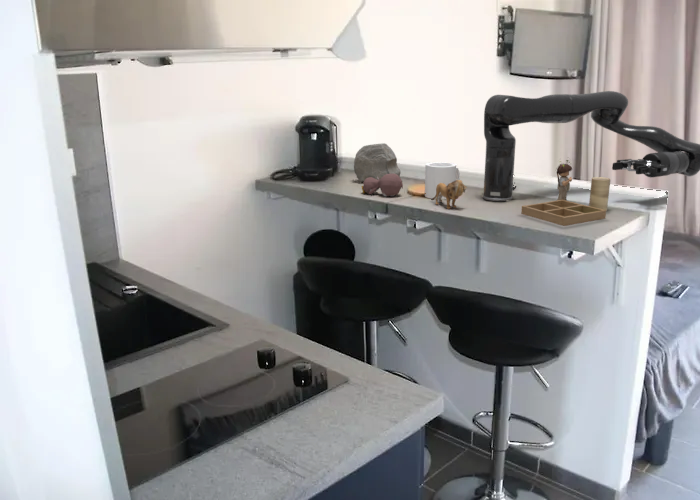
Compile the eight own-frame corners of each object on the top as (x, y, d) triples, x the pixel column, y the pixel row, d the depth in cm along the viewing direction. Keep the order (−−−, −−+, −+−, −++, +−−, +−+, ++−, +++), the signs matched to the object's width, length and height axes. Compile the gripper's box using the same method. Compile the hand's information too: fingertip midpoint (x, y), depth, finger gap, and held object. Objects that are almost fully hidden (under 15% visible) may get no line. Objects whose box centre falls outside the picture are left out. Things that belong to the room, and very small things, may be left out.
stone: (350, 182, 239) (349, 142, 235) (361, 179, 244) (361, 140, 240) (391, 187, 228) (392, 145, 224) (402, 184, 234) (403, 143, 229)
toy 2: (569, 206, 197) (573, 158, 193) (551, 204, 200) (555, 157, 195) (574, 202, 202) (578, 156, 198) (556, 201, 205) (560, 154, 200)
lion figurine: (468, 208, 196) (469, 180, 193) (455, 211, 193) (456, 182, 190) (436, 200, 207) (437, 173, 205) (424, 202, 205) (425, 174, 202)
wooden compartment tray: (521, 215, 187) (521, 205, 186) (561, 209, 194) (562, 199, 193) (563, 228, 173) (564, 217, 172) (605, 220, 180) (606, 210, 179)
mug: (444, 190, 223) (445, 160, 220) (467, 194, 215) (469, 163, 212) (418, 195, 214) (419, 164, 211) (441, 200, 207) (442, 168, 204)
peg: (586, 209, 193) (590, 176, 190) (604, 209, 193) (608, 177, 190) (590, 213, 188) (593, 180, 186) (608, 213, 188) (612, 180, 185)
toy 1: (364, 203, 220) (403, 201, 212) (355, 186, 215) (395, 183, 207) (371, 187, 225) (410, 184, 217) (363, 170, 220) (402, 167, 212)
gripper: (642, 149, 204) (607, 153, 197) (682, 155, 192) (647, 159, 185) (639, 172, 206) (604, 177, 199) (679, 179, 194) (643, 184, 187)
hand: (625, 168), depth 192 cm, fingers open, 8 cm apart
